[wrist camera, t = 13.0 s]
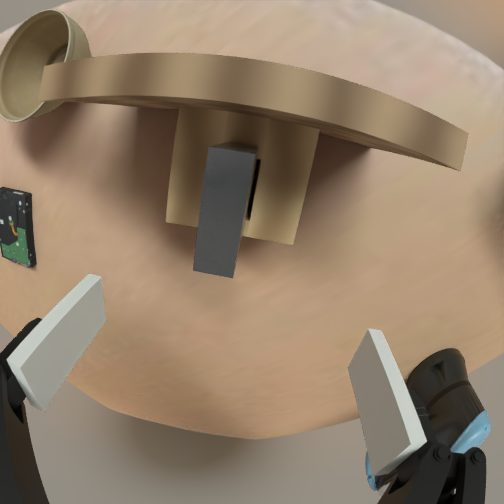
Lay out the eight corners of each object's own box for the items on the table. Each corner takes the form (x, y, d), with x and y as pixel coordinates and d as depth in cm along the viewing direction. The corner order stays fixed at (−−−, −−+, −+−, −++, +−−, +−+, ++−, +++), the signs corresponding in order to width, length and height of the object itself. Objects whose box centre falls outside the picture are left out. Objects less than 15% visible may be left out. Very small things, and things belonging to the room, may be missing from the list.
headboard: (375, 127, 33) (468, 133, 14) (348, 232, 39) (405, 317, 21) (141, 86, 32) (44, 66, 13) (129, 192, 38) (38, 247, 20)
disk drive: (3, 185, 38) (9, 252, 44) (-6, 189, 36) (1, 257, 42) (34, 191, 39) (38, 263, 45) (24, 195, 36) (30, 270, 42)
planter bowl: (97, 121, 34) (50, 124, 24) (29, 116, 33) (-15, 122, 23) (125, 22, 27) (86, -1, 17) (51, 30, 26) (10, 20, 16)
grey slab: (260, 144, 32) (255, 154, 17) (246, 215, 36) (232, 278, 21) (235, 139, 32) (208, 146, 17) (223, 210, 35) (193, 270, 21)
